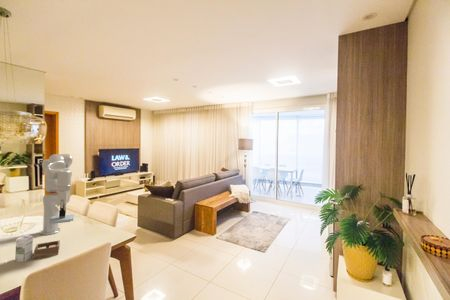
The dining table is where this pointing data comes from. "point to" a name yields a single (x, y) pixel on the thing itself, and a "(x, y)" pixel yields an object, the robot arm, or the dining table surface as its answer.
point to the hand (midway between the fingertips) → (62, 214)
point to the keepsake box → (46, 249)
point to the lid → (61, 218)
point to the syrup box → (24, 248)
